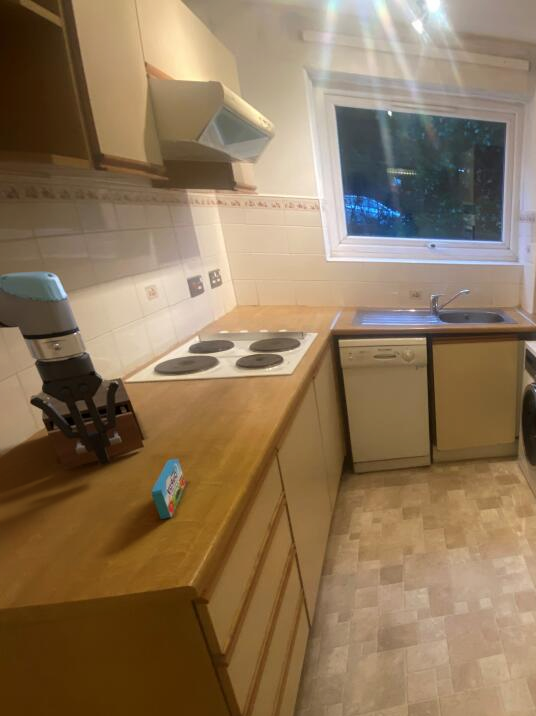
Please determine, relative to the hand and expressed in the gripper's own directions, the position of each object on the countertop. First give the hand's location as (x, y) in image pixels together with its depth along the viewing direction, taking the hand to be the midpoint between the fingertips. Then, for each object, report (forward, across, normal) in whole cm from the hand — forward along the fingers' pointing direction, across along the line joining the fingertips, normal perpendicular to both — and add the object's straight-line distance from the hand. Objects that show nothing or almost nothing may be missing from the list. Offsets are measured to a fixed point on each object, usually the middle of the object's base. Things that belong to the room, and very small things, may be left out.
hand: (104, 461), depth 91 cm
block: (+1, 0, +15) cm, 15 cm away
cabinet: (+3, 0, +24) cm, 24 cm away
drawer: (+2, 0, +14) cm, 14 cm away
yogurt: (+4, +8, -20) cm, 22 cm away
